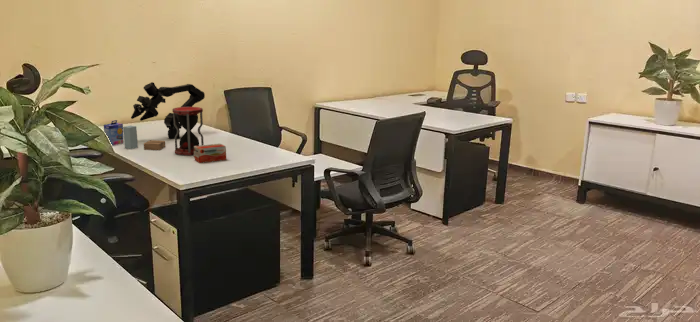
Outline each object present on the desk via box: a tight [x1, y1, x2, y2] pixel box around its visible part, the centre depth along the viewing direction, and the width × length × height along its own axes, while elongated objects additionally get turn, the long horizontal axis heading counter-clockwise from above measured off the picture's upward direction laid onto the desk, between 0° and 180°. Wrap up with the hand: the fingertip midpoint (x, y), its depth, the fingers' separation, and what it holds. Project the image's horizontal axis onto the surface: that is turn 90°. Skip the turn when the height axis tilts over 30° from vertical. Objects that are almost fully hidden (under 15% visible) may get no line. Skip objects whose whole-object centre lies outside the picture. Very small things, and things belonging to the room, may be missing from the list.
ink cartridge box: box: [103, 119, 124, 146], centre depth 324 cm, size 10×6×14 cm, turn 152°
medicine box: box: [193, 143, 227, 164], centre depth 293 cm, size 15×8×8 cm, turn 124°
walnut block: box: [143, 139, 166, 151], centre depth 318 cm, size 9×9×4 cm
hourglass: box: [171, 106, 205, 157], centre depth 307 cm, size 16×16×25 cm
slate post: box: [123, 125, 139, 150], centre depth 316 cm, size 5×5×12 cm
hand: (135, 119), depth 323 cm, fingers open, 9 cm apart
